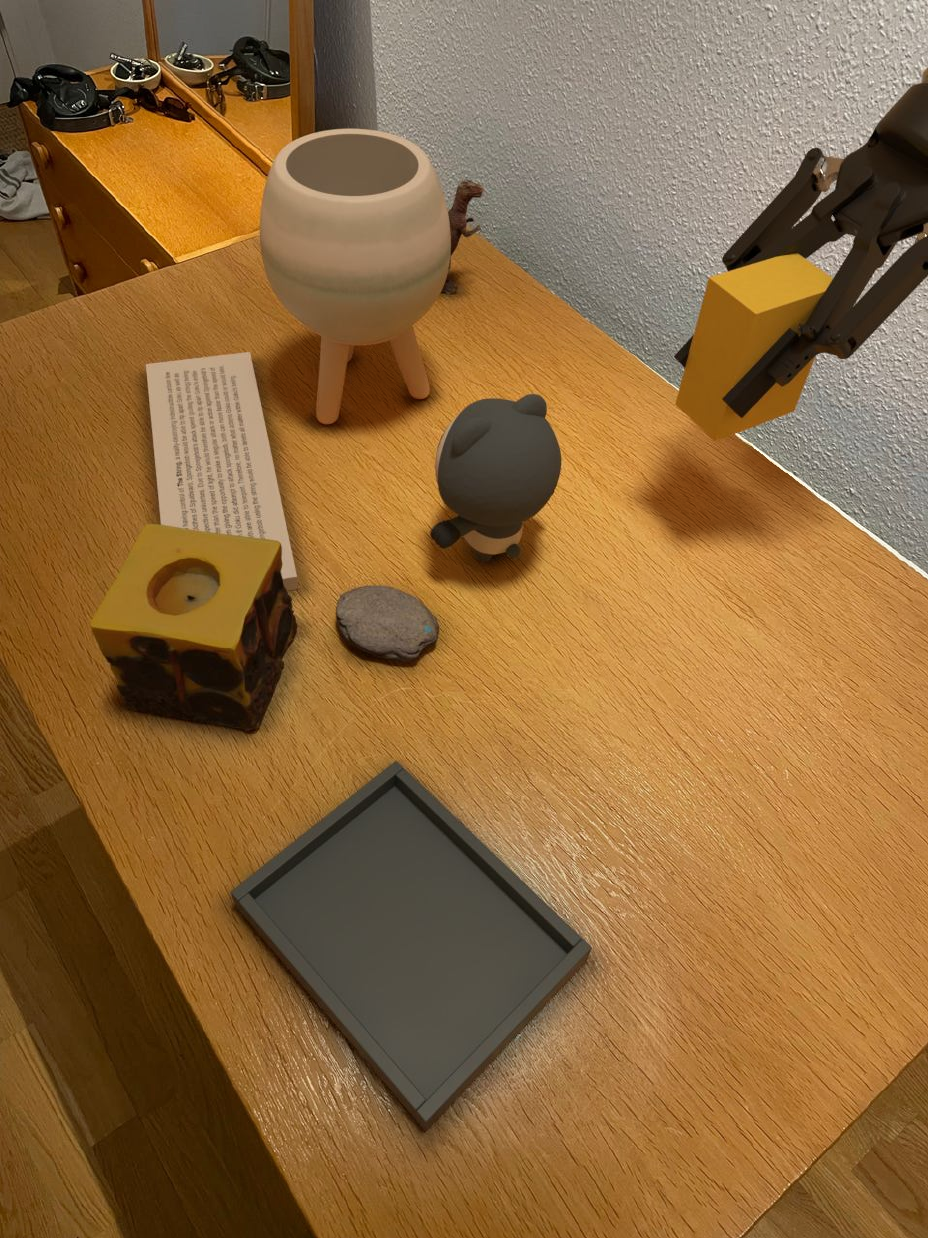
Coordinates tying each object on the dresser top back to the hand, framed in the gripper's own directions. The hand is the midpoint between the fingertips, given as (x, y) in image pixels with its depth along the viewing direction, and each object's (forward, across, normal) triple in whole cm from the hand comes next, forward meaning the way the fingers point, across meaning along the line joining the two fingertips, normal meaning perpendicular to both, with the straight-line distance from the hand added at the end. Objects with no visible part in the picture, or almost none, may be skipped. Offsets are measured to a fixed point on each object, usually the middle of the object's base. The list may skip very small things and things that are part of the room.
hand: (707, 386), depth 70 cm
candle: (+39, +4, +17) cm, 43 cm away
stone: (+30, +1, +8) cm, 31 cm away
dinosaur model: (+12, +43, -9) cm, 46 cm away
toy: (+22, +5, 0) cm, 22 cm away
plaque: (+33, +24, +12) cm, 43 cm away
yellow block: (0, 0, -5) cm, 5 cm away
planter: (+22, +29, 0) cm, 36 cm away
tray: (+36, -21, +15) cm, 44 cm away
